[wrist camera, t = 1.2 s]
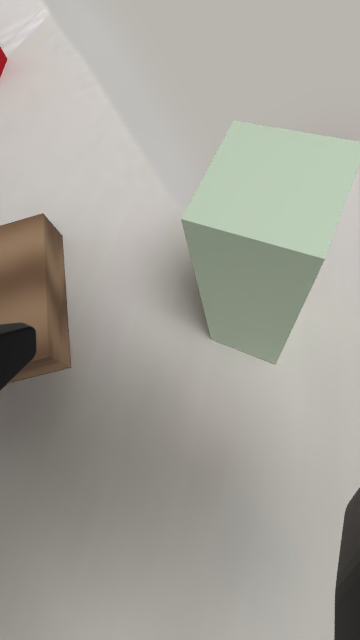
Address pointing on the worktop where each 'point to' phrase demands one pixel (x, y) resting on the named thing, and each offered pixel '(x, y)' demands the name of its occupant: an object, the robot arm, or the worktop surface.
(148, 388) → the worktop surface
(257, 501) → the worktop surface
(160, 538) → the worktop surface
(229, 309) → the sage block
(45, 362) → the walnut base
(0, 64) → the food packaging
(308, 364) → the worktop surface
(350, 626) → the robot arm
